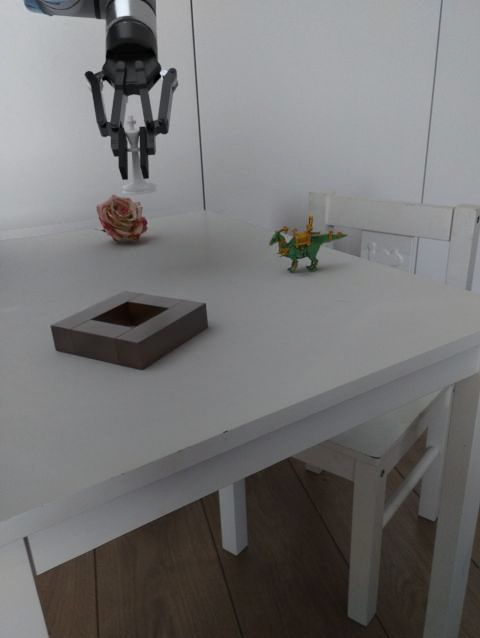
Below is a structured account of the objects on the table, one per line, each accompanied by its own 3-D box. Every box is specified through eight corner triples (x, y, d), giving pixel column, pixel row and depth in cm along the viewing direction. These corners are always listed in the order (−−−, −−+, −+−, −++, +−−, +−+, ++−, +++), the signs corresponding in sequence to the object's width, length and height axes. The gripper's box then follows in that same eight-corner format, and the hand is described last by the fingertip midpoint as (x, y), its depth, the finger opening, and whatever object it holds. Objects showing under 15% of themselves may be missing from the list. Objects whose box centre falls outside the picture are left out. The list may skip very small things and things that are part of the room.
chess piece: (115, 194, 80) (104, 117, 76) (134, 188, 84) (125, 115, 80) (145, 194, 79) (135, 116, 74) (163, 188, 83) (155, 114, 78)
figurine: (268, 270, 87) (266, 216, 83) (344, 263, 88) (345, 209, 85) (272, 276, 84) (270, 220, 80) (350, 268, 86) (351, 213, 82)
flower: (83, 233, 108) (87, 201, 102) (117, 213, 113) (123, 183, 107) (120, 264, 106) (127, 234, 100) (153, 243, 112) (161, 214, 106)
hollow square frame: (55, 350, 63) (49, 325, 62) (128, 312, 73) (124, 290, 71) (142, 370, 58) (138, 343, 56) (208, 326, 67) (206, 302, 66)
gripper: (185, 60, 89) (192, 187, 81) (86, 64, 88) (83, 192, 80) (180, 17, 82) (188, 151, 74) (72, 20, 81) (68, 157, 73)
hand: (134, 172), depth 77 cm, fingers closed on chess piece, 2 cm apart
